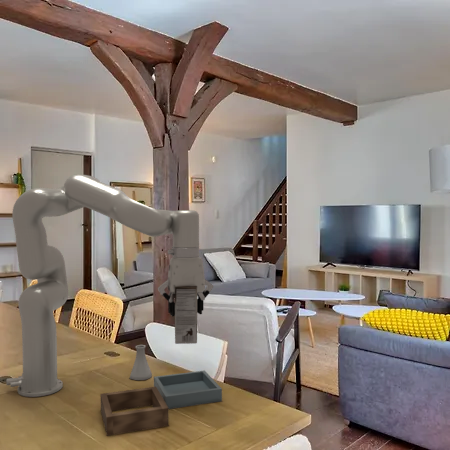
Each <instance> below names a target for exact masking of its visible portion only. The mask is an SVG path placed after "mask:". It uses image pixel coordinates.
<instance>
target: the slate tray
mask: <svg viewBox="0 0 450 450" xmlns="http://www.w3.org/2000/svg"><path fill="white" fill-rule="evenodd" d="M153 387H157V389H158V391H159V392H160V394H161V396H162V398H163V399H164V401H165V403H166V404H167V406H168V409H169V410H173V409H178V408H185V407H191V406H192V407H193V406H199V405H207V404H211V403H212V404H213V403H218V402H219V403H220V402H223V388H222V387H221V386H220V385H219V384H218V382H217V381H216V380H214V378H212V376H211V375H210V374H209V373H208V372H207V371H206V370H205V369H204V370H197V371H188V372H182V373H174V374H173V373H172V374H166V375H157V376H153Z"/></svg>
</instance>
